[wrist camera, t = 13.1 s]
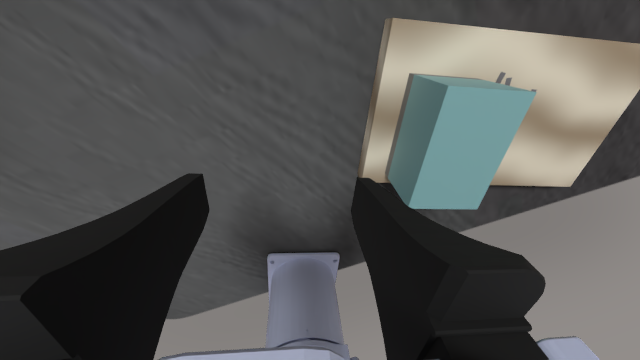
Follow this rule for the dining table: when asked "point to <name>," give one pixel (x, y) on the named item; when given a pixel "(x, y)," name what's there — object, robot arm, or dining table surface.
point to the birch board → (517, 71)
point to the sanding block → (452, 139)
